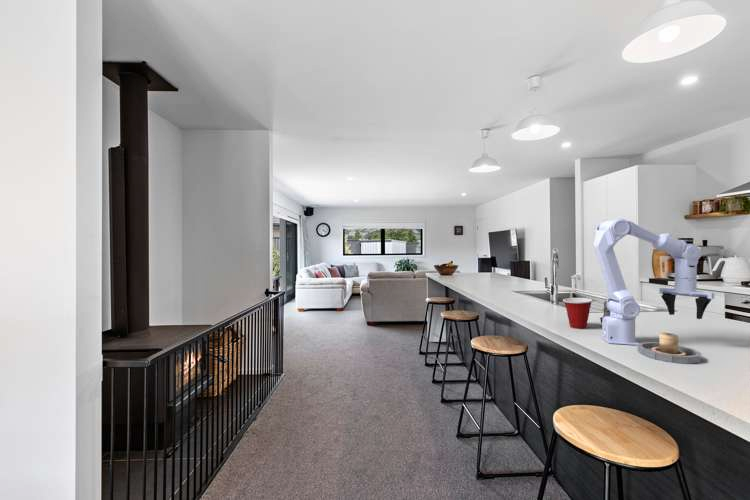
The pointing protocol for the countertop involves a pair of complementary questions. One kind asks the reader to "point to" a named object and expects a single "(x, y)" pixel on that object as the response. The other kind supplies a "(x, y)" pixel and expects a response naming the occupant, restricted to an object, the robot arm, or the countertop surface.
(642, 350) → the round tray
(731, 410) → the countertop surface
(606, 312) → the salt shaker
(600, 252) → the robot arm
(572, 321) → the plastic cup
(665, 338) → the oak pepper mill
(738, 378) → the countertop surface
